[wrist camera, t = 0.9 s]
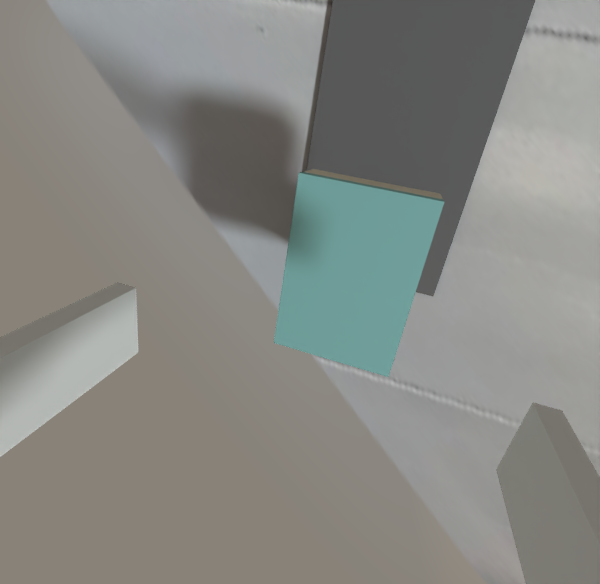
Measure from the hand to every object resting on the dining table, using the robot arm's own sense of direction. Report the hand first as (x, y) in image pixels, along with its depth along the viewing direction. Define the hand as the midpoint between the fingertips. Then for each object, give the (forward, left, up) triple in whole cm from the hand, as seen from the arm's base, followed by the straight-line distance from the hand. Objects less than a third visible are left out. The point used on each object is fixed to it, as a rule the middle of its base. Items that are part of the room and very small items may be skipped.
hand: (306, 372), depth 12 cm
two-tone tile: (0, 0, -11) cm, 11 cm away
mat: (-8, 0, -22) cm, 23 cm away
